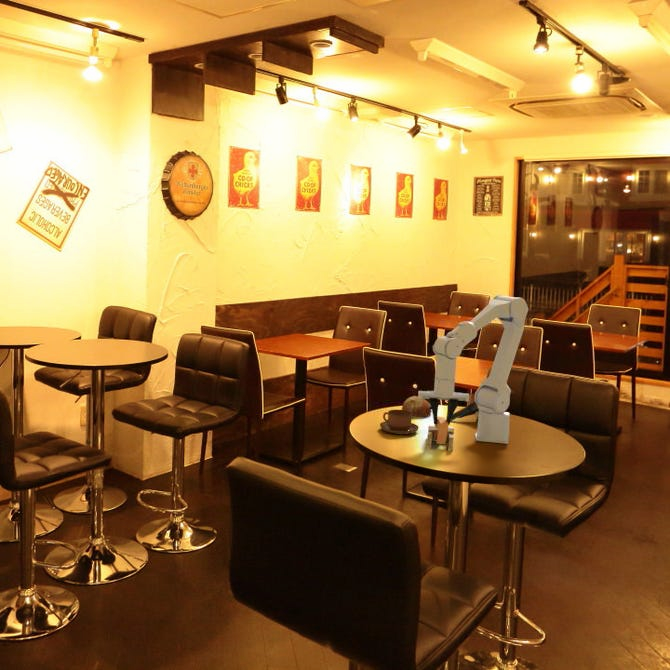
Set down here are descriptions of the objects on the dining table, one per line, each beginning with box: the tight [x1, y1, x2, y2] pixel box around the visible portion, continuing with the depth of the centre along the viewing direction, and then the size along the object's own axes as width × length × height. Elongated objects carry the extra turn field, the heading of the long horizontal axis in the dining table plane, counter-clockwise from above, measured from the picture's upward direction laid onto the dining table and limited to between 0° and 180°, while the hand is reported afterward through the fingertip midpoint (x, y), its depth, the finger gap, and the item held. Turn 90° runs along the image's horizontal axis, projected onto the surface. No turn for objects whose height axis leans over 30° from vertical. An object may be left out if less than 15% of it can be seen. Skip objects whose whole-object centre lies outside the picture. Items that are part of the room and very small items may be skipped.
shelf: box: [426, 424, 455, 452], centre depth 212 cm, size 7×12×5 cm, turn 170°
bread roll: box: [401, 395, 432, 418], centre depth 248 cm, size 10×10×8 cm
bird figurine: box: [450, 388, 515, 422], centre depth 240 cm, size 13×10×20 cm
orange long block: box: [433, 415, 450, 445], centre depth 211 cm, size 2×8×6 cm, turn 1°
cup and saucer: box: [379, 409, 420, 435], centre depth 224 cm, size 12×12×6 cm
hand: (441, 423), depth 210 cm, fingers open, 3 cm apart
